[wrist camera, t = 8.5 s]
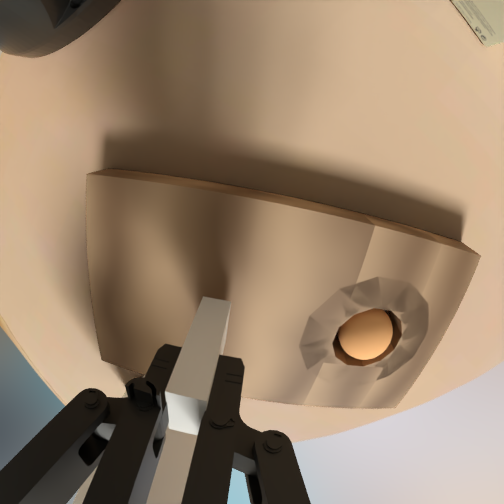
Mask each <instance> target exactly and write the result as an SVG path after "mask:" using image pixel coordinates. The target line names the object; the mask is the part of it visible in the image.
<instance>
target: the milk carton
mask: <svg viewBox="0 0 504 504" xmlns="http://www.w3.org/2000/svg"><path fill="white" fill-rule="evenodd" d="M144 377H145V375H144V376H143V378H144ZM125 397H128V395H127V391H125V393H124V395H123V397H122V398H125ZM197 436H198V435H194V434H189V433H185V432H181V431H176V430H173V429H169V426H167V429H166V440H165V443H164V446H163V450H162V453H161V456H160V459H159V463H158V466H157V469H156V472H155V476H154V479H153V482H152V485H151V489H150V492H149V496H148V499H147V502H146V504H181V502H182V498H183V494H184V490H185V485H186V481H187V477H188V473H189V469H190V464H191V460H192V456H193V452H194V448H195V444H196V440H197ZM97 467H98V466H97ZM97 467H96V468H95V470H94V471H93V472H92V473H91V475H90V476H89V477H88V478H87V479H86V481H85V482H84V483H83V484H82V485H81V487H80V488H79V490H78V492H77V495H76V497H75V500H74V502H73V504H82V503H83V501H84V498H85V496H86V493H87V491H88V488H89V486H90V483H91V481H92V479H93V476H94V474H95V471H96V469H97Z"/></svg>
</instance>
